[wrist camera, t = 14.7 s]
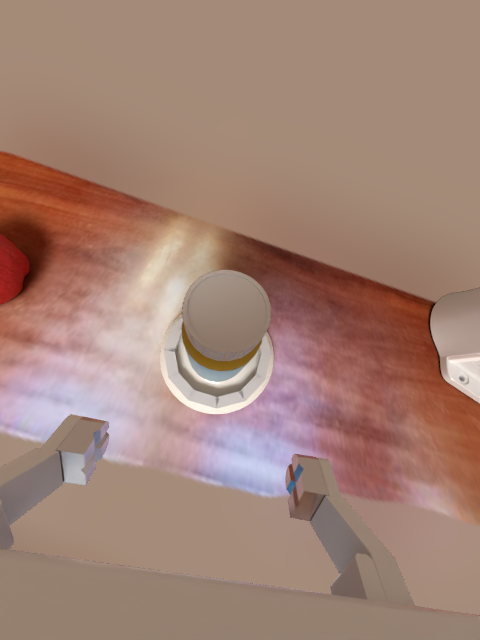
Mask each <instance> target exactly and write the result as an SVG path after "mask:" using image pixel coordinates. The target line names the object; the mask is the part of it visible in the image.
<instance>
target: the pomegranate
mask: <svg viewBox="0 0 480 640" xmlns="http://www.w3.org/2000/svg"><path fill="white" fill-rule="evenodd" d="M28 272H29V260H28V259H27V257H26V256H25V254H24V253H22V252H21V251H20V250H19V249H18V248H17V247H16V246H15V245H14V244H13V243H12V242H11V241H9V240H8V239H7V238H6V237H4V236H3V235H2V234H1V233H0V305H1V304H4V303H6V302H8V301H9V300H11V299H13V298H14V297H15V296H17V295H18V294H19V293H20V292H21V290H22V288H23V279H24V277H25V276H26V275H27V273H28Z"/></svg>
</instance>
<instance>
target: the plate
mask: <svg viewBox="0 0 480 640" xmlns="http://www.w3.org/2000/svg"><path fill="white" fill-rule="evenodd" d="M182 316H183V315H182V314H181V315H180V316H178V317H177V318H176V319H175V320H174V322H173V323H172V324H171V325H170V327H169V328H168V330H167V332H166V334H165V336H164V338H163V342H162V345H161V350H160V366H161V371H162V375H163V377H164V380H165V382H166V384H167V386H168V388H169V389H170V390H171V392H172V393H173V394H174V396H176V397H177V398H178V399H179V400H180V401H181V402H182V403H184V404H185V405H187V406H188V407H190V408H192V409H194V410H197V411H200V412H204V413H209V414H225V413H230V412H233V411H236V410H239V409H241V408H243V407H245V406H247V405H248V404H250V403H251V402H253V401H254V400H255V399H256V398H257V397H258V396H259V395H260V394H261V392H262V391H263V390H264V388H265V387H266V385H267V383H268V381H269V379H270V376H271V373H272V369H273V363H274V353H273V346H272V342H271V339H270V336H269V334H268V332H266V333H265V336H264V337H263V338H262V343H261V345H260V347H259V349H258V351H257V353H256V355H255V356H254V357H253V358H252V359H251V360H250V361H249V363H248V364H247V365H246V366H245V367H244V368H243V369H242V370H241V371H240V372H239V373H238V374H237V375H236V376H234V377H233V378H231V379H228V380H226V381H220V382H214V381H209V380H206V379H204V378H202V377H201V376H199V375H198V374H197V373H196V372H195V371H194V369H193V368H192V366H191V364H190V361H189V359H188V356H187V353H186V350H185V346H184V343H183V340H182V322H183V318H182Z"/></svg>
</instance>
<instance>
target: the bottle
mask: <svg viewBox="0 0 480 640" xmlns="http://www.w3.org/2000/svg"><path fill="white" fill-rule="evenodd" d="M182 310H183V311H182V315H183V316H182V318H183V322H182V340H183V343H184V346H185V350H186V353H187V356H188V359H189V361H190V364H191V366H192V368H193V369H194V371H195V372H196V373H197V374H198V375H199V376H201V377H202V378H204V379H206V380H209V381H214V382H220V381H226V380H228V379H231V378H233V377H234V376H236V375H237V374H238V373H239V372H240V371H241V370H242V369H243V368H244V367H245V366H246V365H247V364H248V363H249V361H250V360H251V359H252V358H253V357H254V356H255V355H256V353H257V351H258V349H259V347H260V345H261V343H262V338H263V337H264V336H265V333H266V332H267V330H268V327H269V323H270V319H271V306H270V302H269V299H268V296H267V294H266V292H265V291H264V289H263V288H262V287H261V285H260V284H259V283H258V282H256V281H255V280H254V279H253V278H251V277H250V276H248V275H246V274H244V273H241V272H238V271H233V270H218V271H213V272H210V273H207V274H205V275H203V276H202V277H200V278H199V279H197V280H196V281H195V282H194V283H193V284H192V285H191V287H190V288H189V289H188V291H187V293H186V295H185V297H184V302H183V306H182Z"/></svg>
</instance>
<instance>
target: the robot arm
mask: <svg viewBox="0 0 480 640" xmlns="http://www.w3.org/2000/svg"><path fill="white" fill-rule="evenodd" d="M430 327H431V333H432V337H433V340H434V343H435V345H436V348H437V350H438V353H439V356H440V367H441V373H442V376H443V378H444V379H445V380H446V381H447V382H448V383H450V384H451V385H453V386H454V387H456V388H457V389H459V390H460V391H462V392H463V393H465V394H466V395H468V396H469V397H471V398H472V399H474V400H475V401H477V402H478V403H480V288H476V289H472V290H468V291H462V292H456V293H451V294H448V295H445V296H443V297H442V298H440V299H439V300H438V301H437V302H436V304H435V305H434V307H433V310H432V313H431V318H430ZM459 378H460V379H459ZM108 428H109V422H107V421H103V420H98V419H93V418H88V417H83V416H77V415H72V414H71V415H70V416H68V417H67V418H66V419H65V420H64V421H63V423H62V424H61V425H60V426H59V427H58V428H57V430H56V431H55V432H54V433H53V434H52V436H51V437H50V438H49V439H48V440H47V442H46V443H45V444H44V445H43V446H42V447H41V448H36V449H34V450H32V451H30V452H28V453H26V454H24V455H22V456H21V457H18V458H17V459H15V460H13V461H11V462H9V463H7V464H5V465H3V466H2V467H0V640H480V615H474V614H468V613H460V612H453V611H446V610H439V609H432V608H425V607H417V606H415V605H414V603H413V600H412V598H411V596H410V593H409V591H408V588H407V586H406V583H405V581H404V579H403V576H402V574H401V571H400V569H399V566H398V564H397V562H396V559H395V557H394V556H393V555H392V554H391V553H390V551H389V550H388V549H387V548H386V547H385V546H384V544H383V543H382V542H381V541H380V540H379V538H378V537H377V536H376V535H375V534H374V533H373V531H372V530H371V529H370V528H369V527H368V525H367V524H366V523H365V522H364V521H363V520H362V518H361V517H360V516H359V515H358V514H357V512H356V511H355V510H354V509H353V508H352V506H351V505H350V504H349V503H348V502H347V501H346V499H343V498H341V494H340V491H339V488H338V485H337V482H336V479H335V476H334V473H333V470H332V467H331V464H330V461H329V460H328V459H322V458H316V457H312V456H306V455H299V454H294V455H293V457H292V464H291V465H289V466H288V468H287V471H286V489H287V491H288V492H289V494H290V497H289V499H288V504H289V511H290V517H291V518H295V519H300V520H306V521H310V523H311V525H312V527H313V529H314V530H315V532H316V534H317V536H318V537H319V539H320V541H321V542H322V544H323V546H324V548H325V549H326V551H327V553H328V554H329V556H330V558H331V560H332V561H333V563H334V565H335V566H336V568H337V570H338V572H339V573H340V575H339V576H338V577H337V579H336V580H335V581H334V583H333V584H332V586H331V592H332V594H324V593H317V592H310V591H303V590H296V589H289V588H281V587H274V586H267V585H260V584H253V583H245V582H238V581H231V580H224V579H217V578H210V577H203V576H195V575H189V574H181V573H174V572H167V571H160V570H153V569H146V568H139V567H131V566H124V565H116V564H110V563H103V562H95V561H88V560H80V559H74V558H66V557H59V556H52V555H45V554H37V553H31V552H23V551H16V550H9V549H10V548H11V546H12V545H13V543H14V539H13V535H12V532H11V529H10V525H11V524H12V523H13V522H15V521H16V520H17V519H19V518H20V517H21V516H23V515H24V514H25V513H26V512H27V511H29V510H30V509H32V508H33V507H34V506H35V505H37V504H38V503H39V502H41V501H42V500H43V499H44V498H46V497H47V496H48V495H49V494H51V493H52V492H53V491H55V490H56V489H57V488H59V487H60V486H61V485H62V484H63V482H64V483H73V484H81V485H86V484H87V483H88V481H89V479H90V477H91V476H92V474H93V472H94V470H95V462H97V461H98V460H100V459H101V458H102V456H103V455H104V453H105V451H106V448H107V445H108V441H109V434H108V433H107V432H106V431H107V430H108Z"/></svg>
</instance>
